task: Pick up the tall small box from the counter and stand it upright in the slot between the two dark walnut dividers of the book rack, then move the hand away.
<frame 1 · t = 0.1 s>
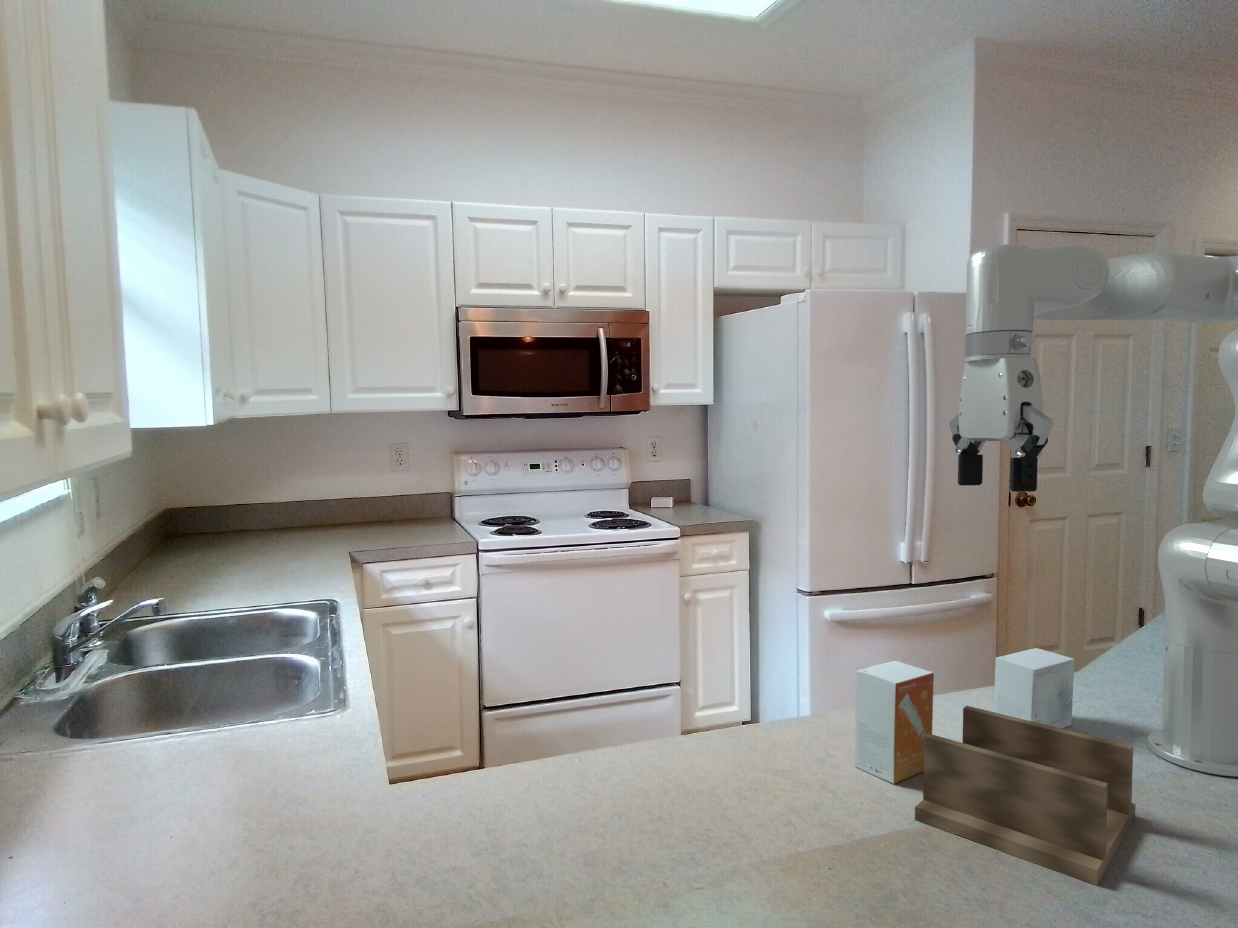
hand: (995, 488, 94), 37 cm above the worktop, tool pointing down, fingers open, 9 cm apart
book rack: (1025, 818, 87), on the worktop
skincare box: (1033, 727, 113), on the worktop
small box: (893, 769, 100), on the worktop
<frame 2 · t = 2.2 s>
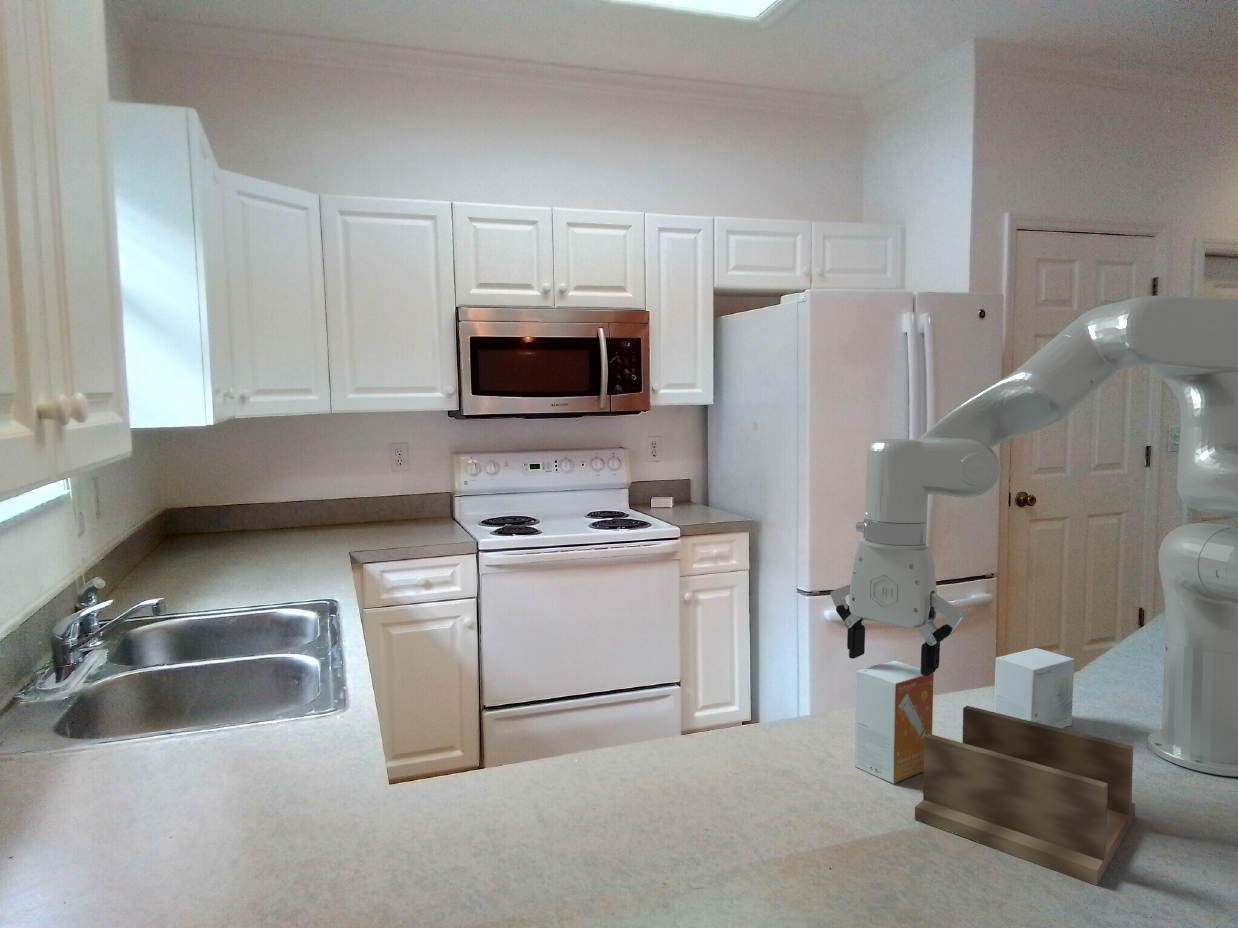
hand: (891, 664, 99), 14 cm above the worktop, tool pointing down, fingers open, 9 cm apart
nothing on the worktop moved.
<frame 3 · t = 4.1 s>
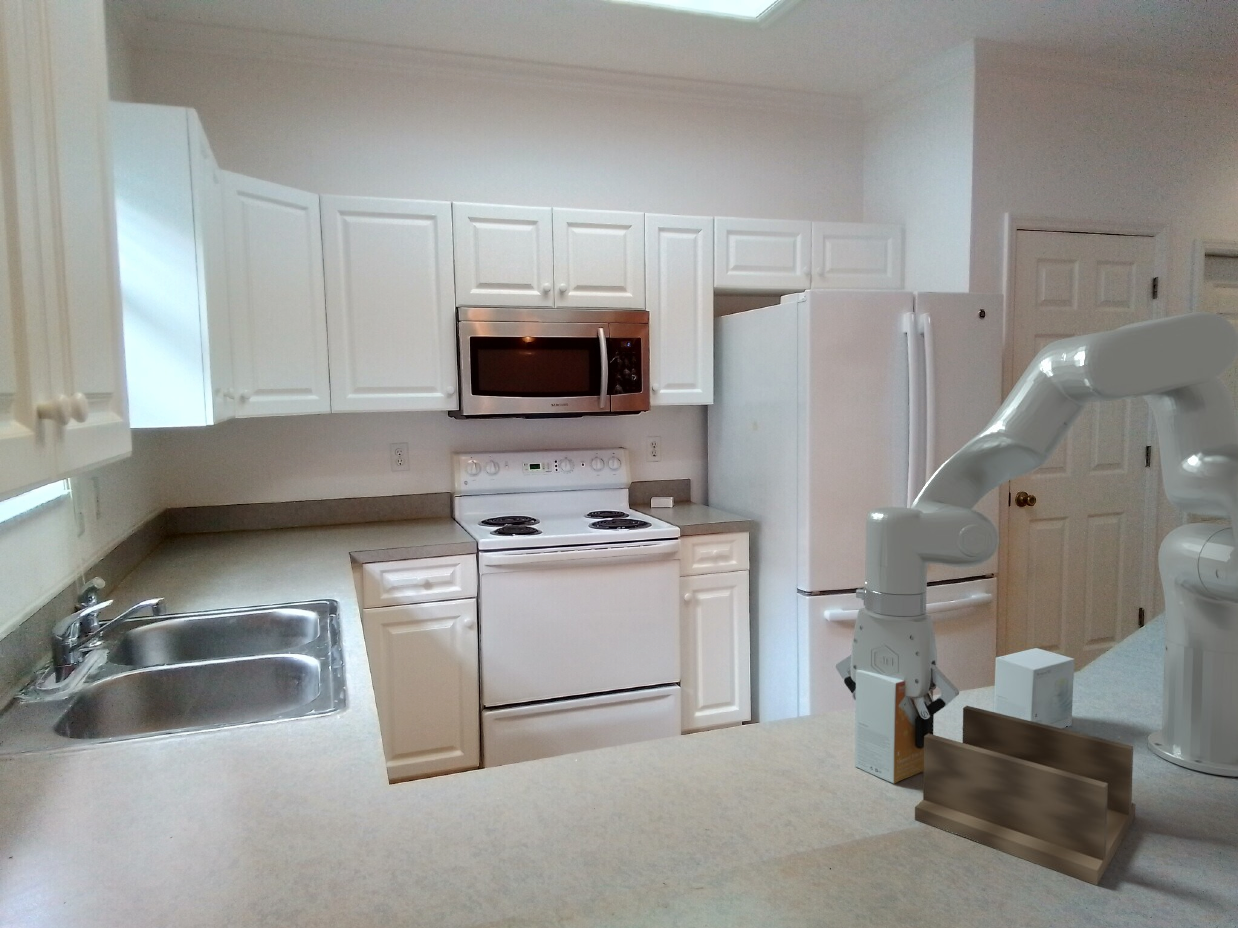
hand: (893, 735, 99), 4 cm above the worktop, tool pointing down, fingers closed on small box, 7 cm apart
small box: (893, 769, 100), on the worktop, touching gripper
everything else where it was.
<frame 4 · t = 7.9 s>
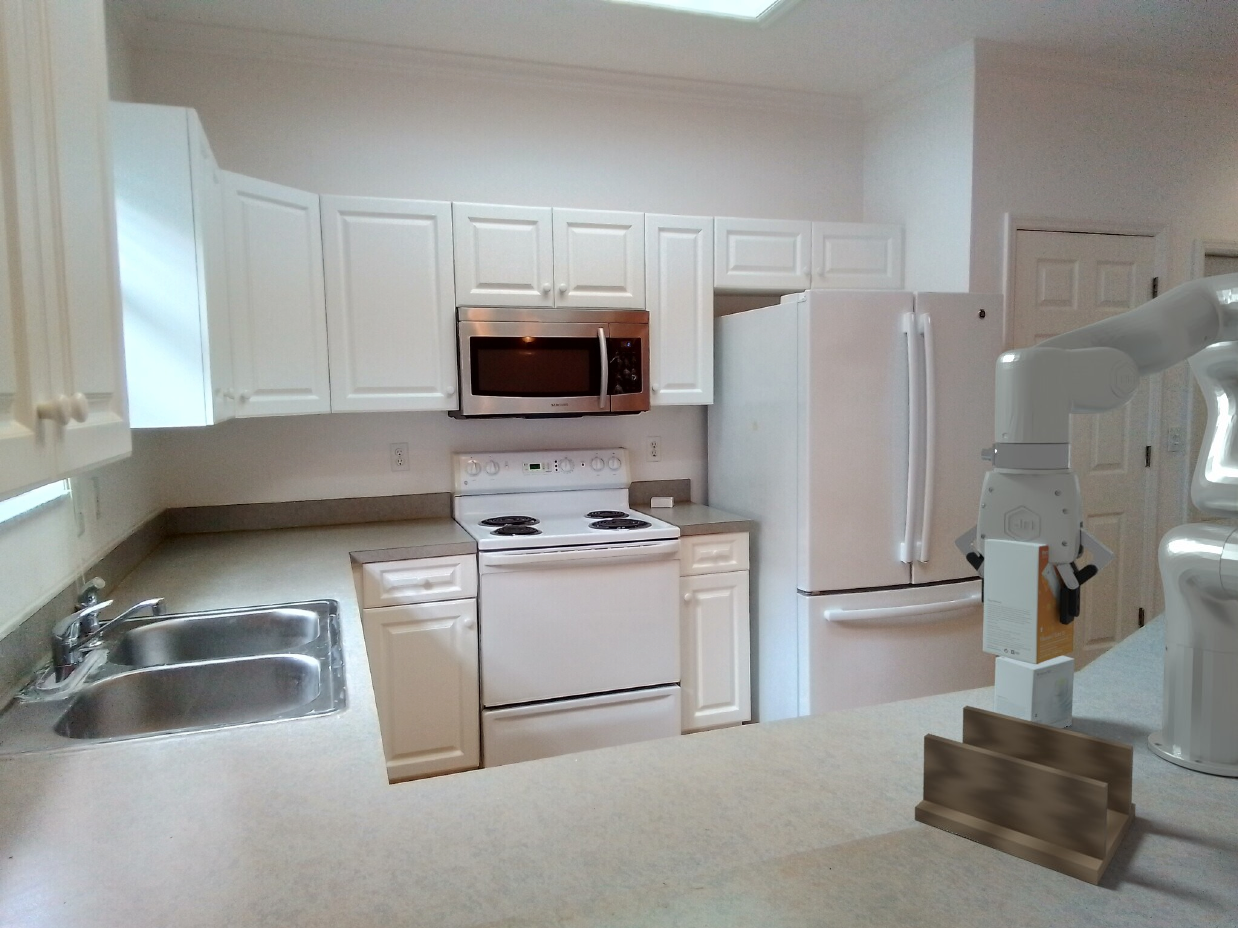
hand: (1028, 614, 86), 23 cm above the worktop, tool pointing down, fingers closed on small box, 7 cm apart
small box: (1028, 654, 86), point 19 cm above the worktop, touching gripper
everything else where it was.
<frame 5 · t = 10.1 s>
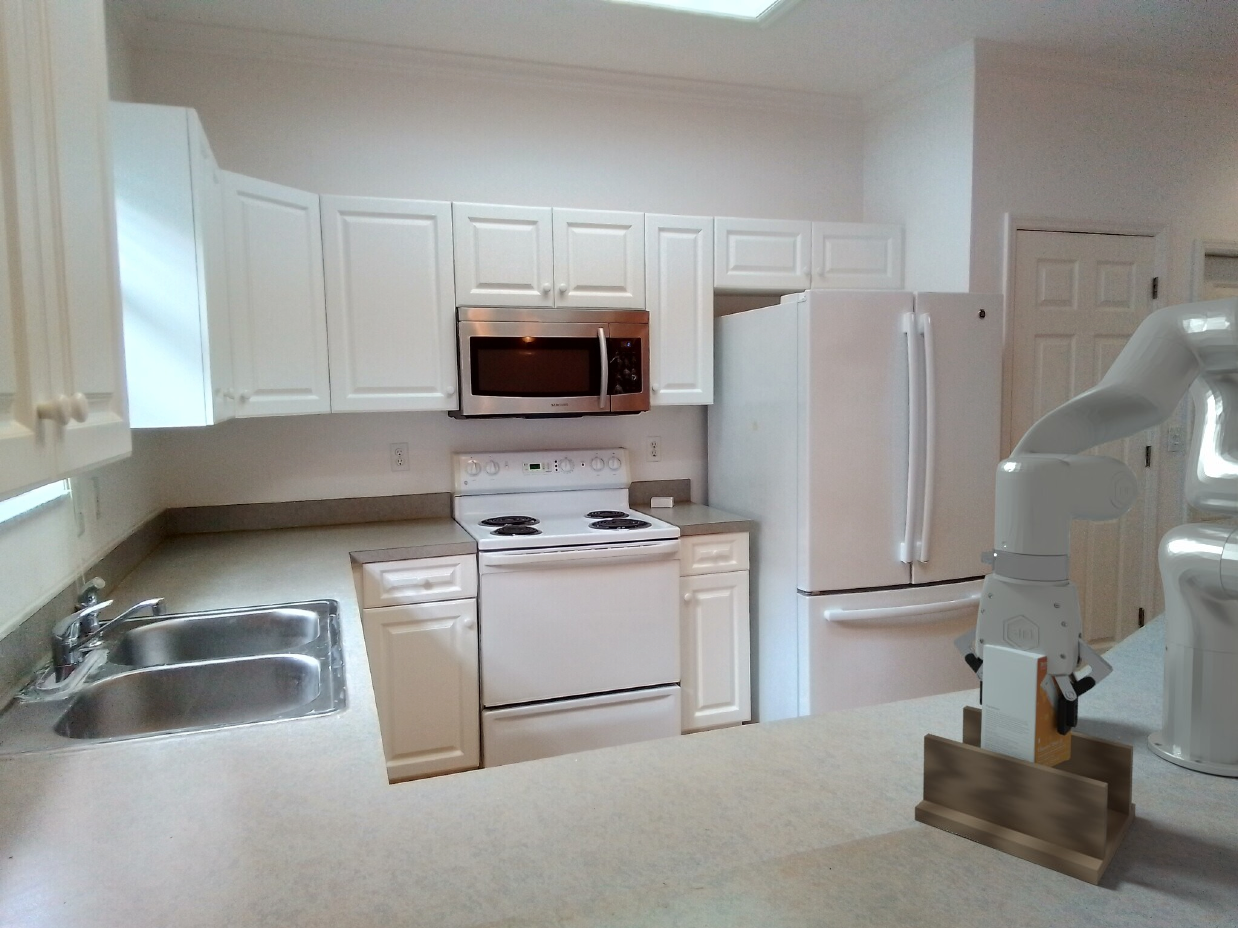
hand: (1026, 720, 86), 11 cm above the worktop, tool pointing down, fingers closed on small box, 7 cm apart
small box: (1025, 759, 86), point 7 cm above the worktop, touching gripper
everything else where it was.
when the fingers open (7 cm above the worktop, at t = 12.0 s): small box drops 1 cm, resting on book rack.
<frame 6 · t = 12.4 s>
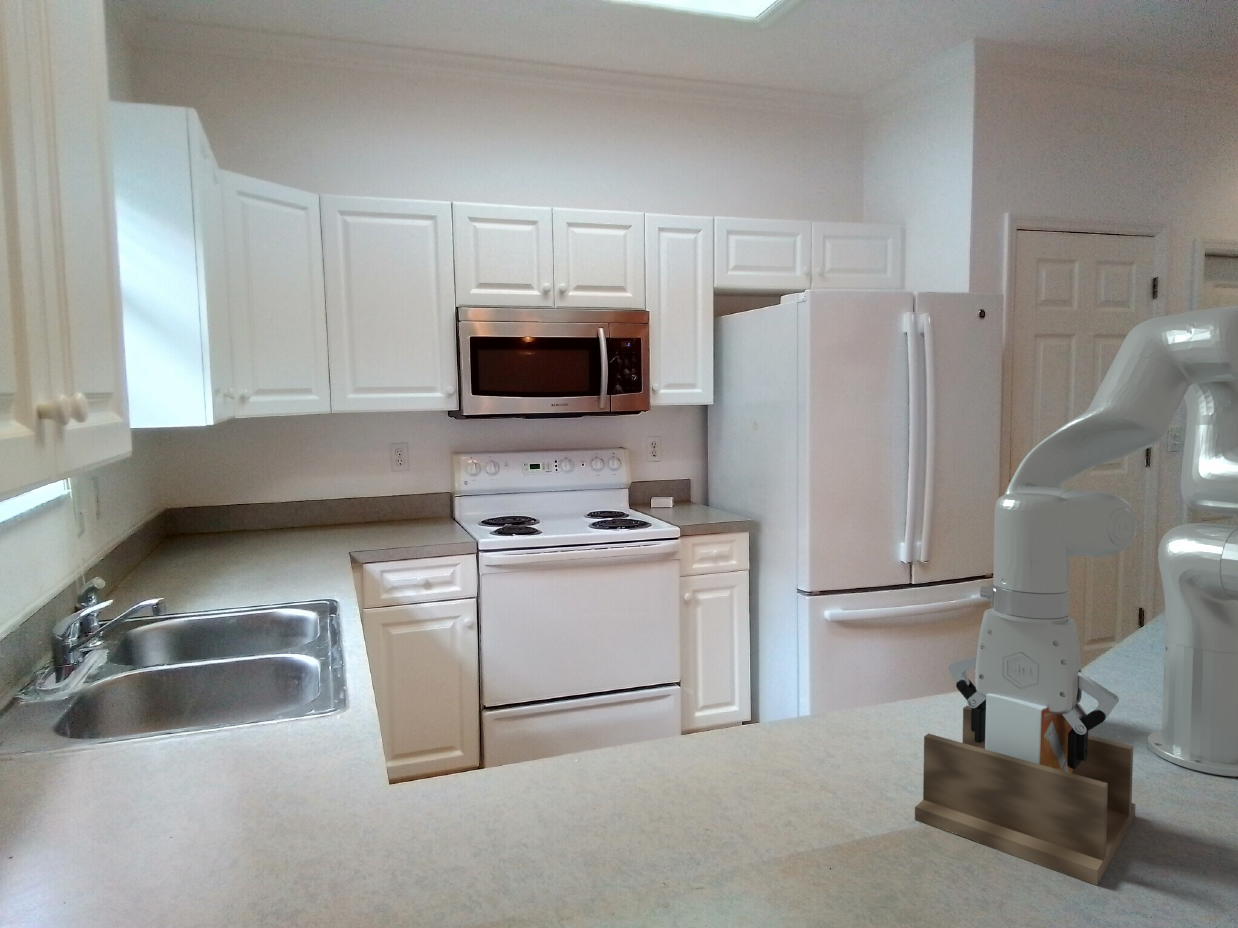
hand: (1026, 751, 86), 8 cm above the worktop, tool pointing down, fingers open, 9 cm apart
small box: (1027, 807, 87), point 1 cm above the worktop, touching book rack
everything else where it was.
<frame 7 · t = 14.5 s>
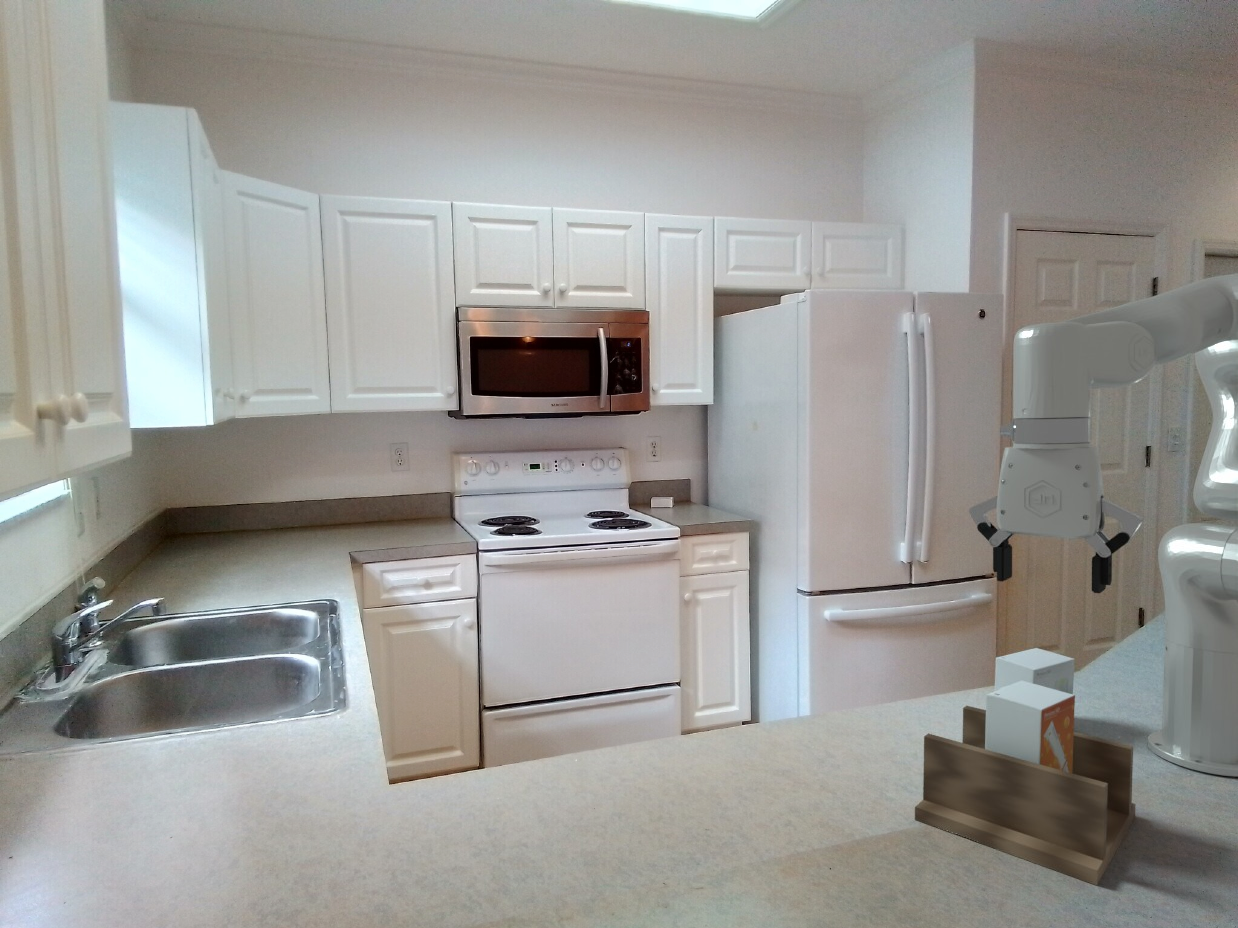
hand: (1049, 584, 86), 27 cm above the worktop, tool pointing down, fingers open, 9 cm apart
nothing on the worktop moved.
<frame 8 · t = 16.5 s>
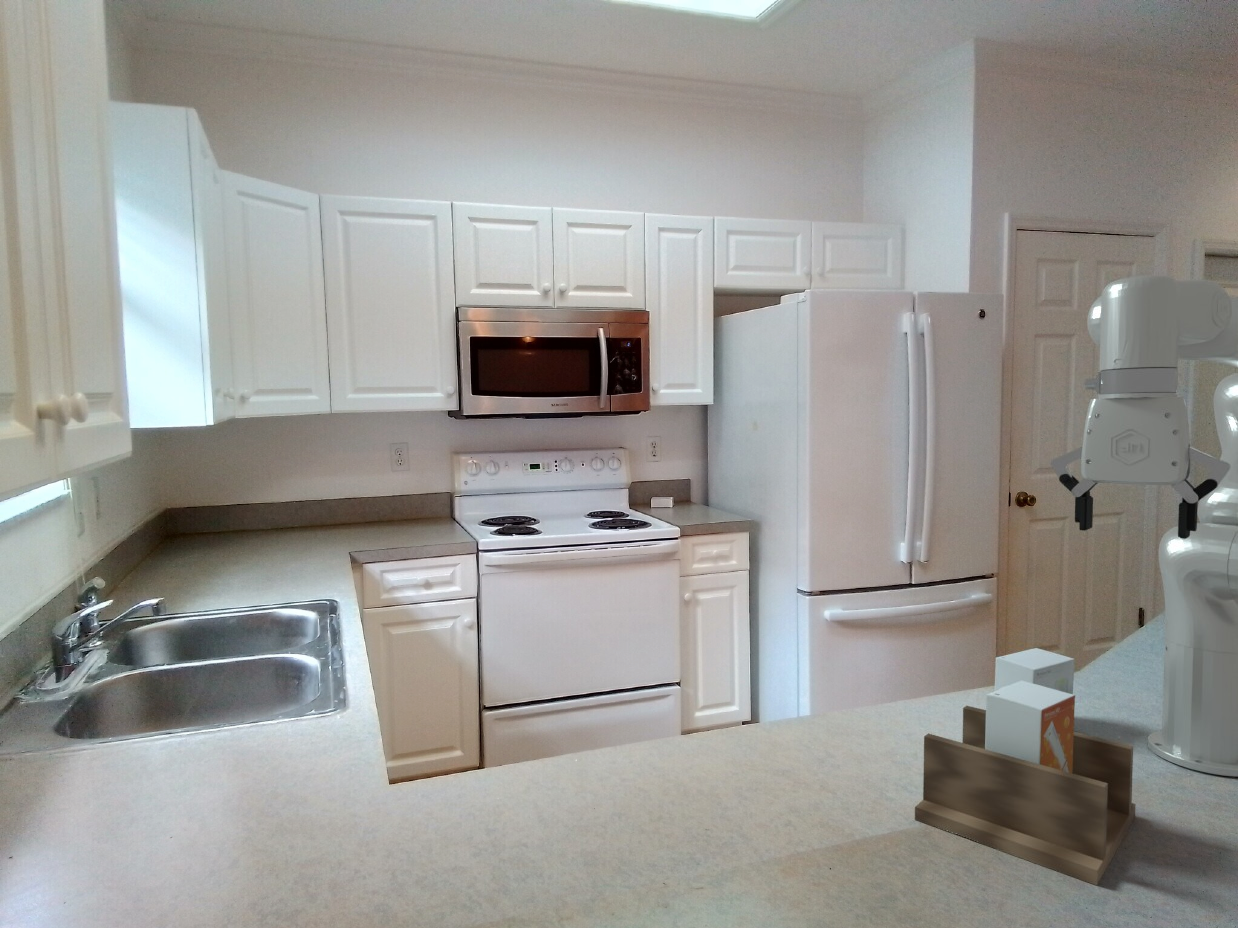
hand: (1133, 533, 88), 32 cm above the worktop, tool pointing down, fingers open, 9 cm apart
nothing on the worktop moved.
at the end: small box inside the target area on the book rack (0.3 cm from its centre), point 1.3 cm above the book rack's base; small box tilted 0°; the gripper is holding nothing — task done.
